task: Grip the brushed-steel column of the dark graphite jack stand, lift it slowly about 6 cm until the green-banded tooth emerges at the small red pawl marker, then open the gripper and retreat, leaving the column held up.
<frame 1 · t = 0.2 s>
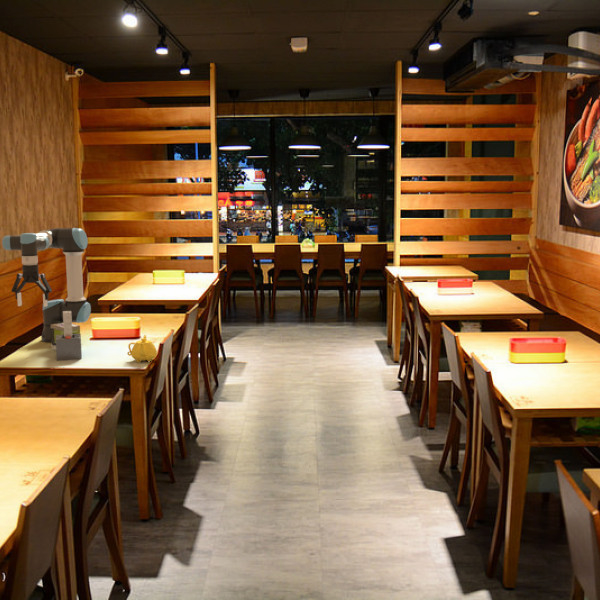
hand: (32, 306, 353), 28 cm above the table, fingers open, 13 cm apart
stand base: (69, 359, 360), on the table
column: (68, 334, 358), point 13 cm above the table, slide at 0.0 cm
teapot: (142, 360, 358), on the table
tea box: (66, 351, 378), on the table
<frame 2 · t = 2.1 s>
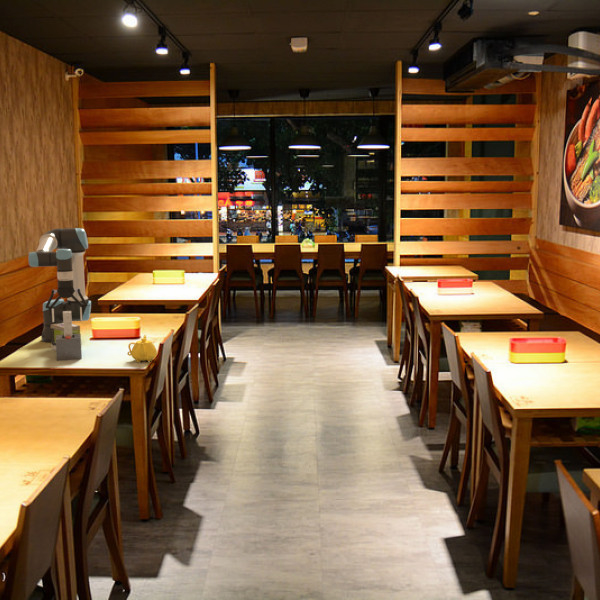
hand: (67, 321, 357), 20 cm above the table, fingers open, 13 cm apart
nothing on the table moved.
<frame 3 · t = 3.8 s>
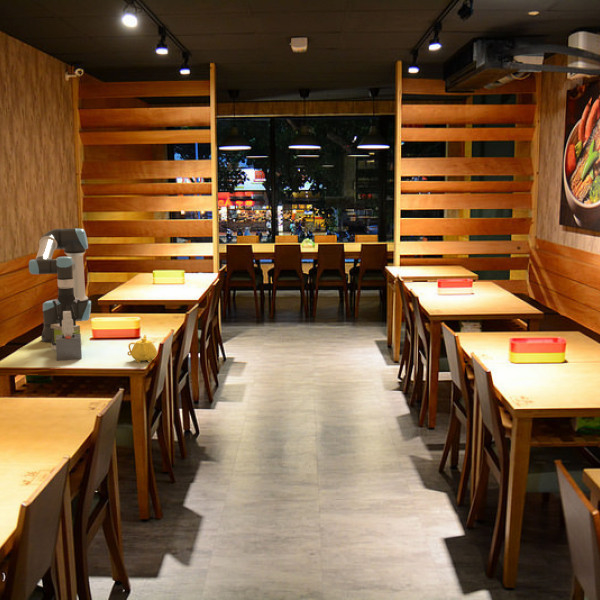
hand: (68, 332, 358), 14 cm above the table, fingers closed on column, 4 cm apart
column: (68, 334, 358), point 13 cm above the table, slide at 0.0 cm, touching gripper
everything else where it was.
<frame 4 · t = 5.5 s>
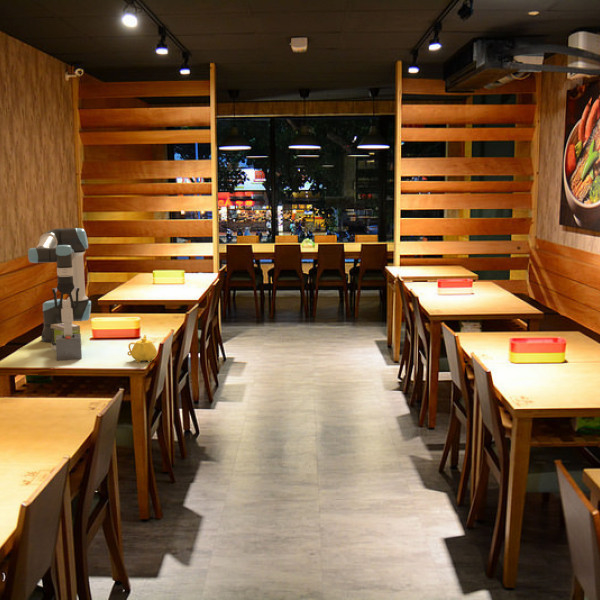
hand: (67, 321, 357), 20 cm above the table, fingers closed on column, 4 cm apart
column: (67, 323, 357), point 19 cm above the table, slide at 5.9 cm, touching gripper
everything else where it was.
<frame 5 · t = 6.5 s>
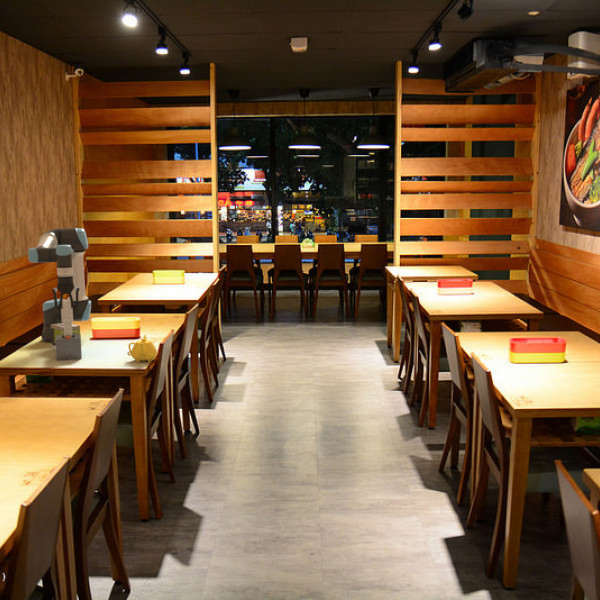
hand: (67, 321, 357), 20 cm above the table, fingers closed on column, 4 cm apart
column: (67, 323, 357), point 19 cm above the table, slide at 5.9 cm, touching gripper
everything else where it was.
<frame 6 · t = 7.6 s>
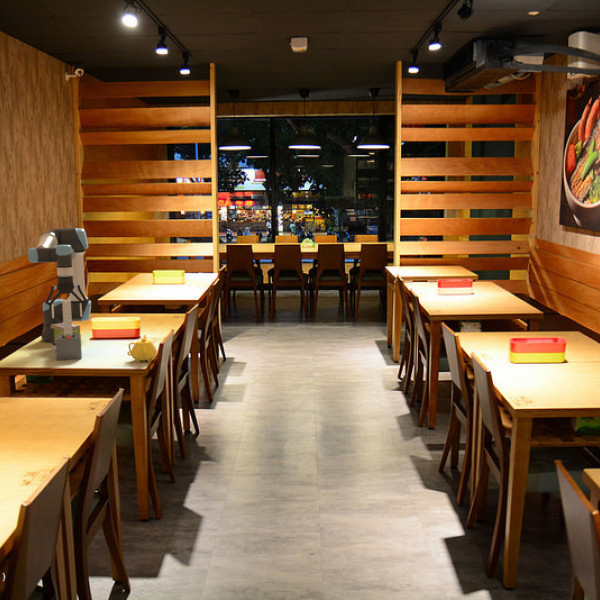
hand: (67, 317, 357), 22 cm above the table, fingers open, 13 cm apart
column: (67, 323, 357), point 19 cm above the table, slide at 6.0 cm
everything else where it was.
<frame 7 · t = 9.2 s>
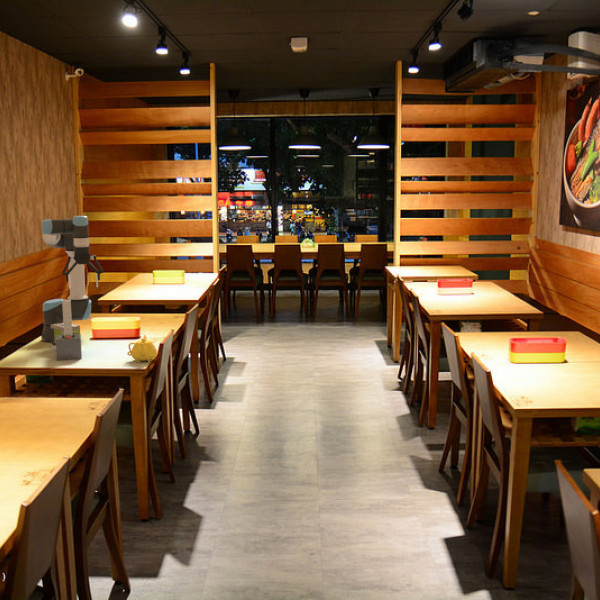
hand: (83, 287, 362), 36 cm above the table, fingers open, 13 cm apart
nothing on the table moved.
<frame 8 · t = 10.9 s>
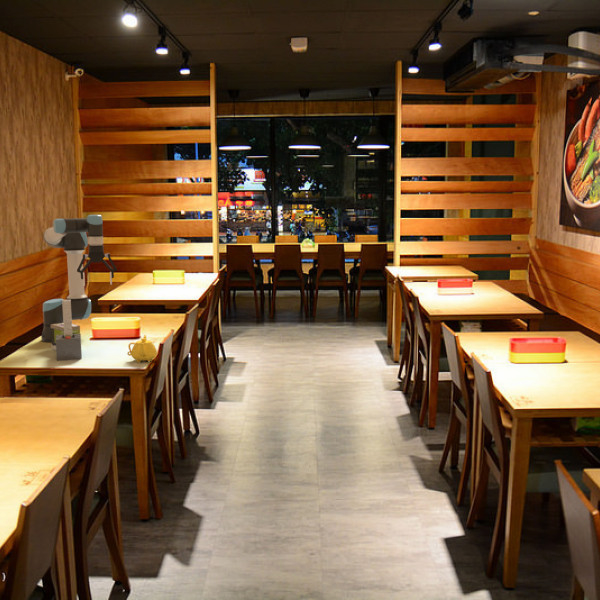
hand: (97, 284, 369), 37 cm above the table, fingers open, 13 cm apart
nothing on the table moved.
at the end: column slide at 6.0 cm; the gripper is holding nothing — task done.
